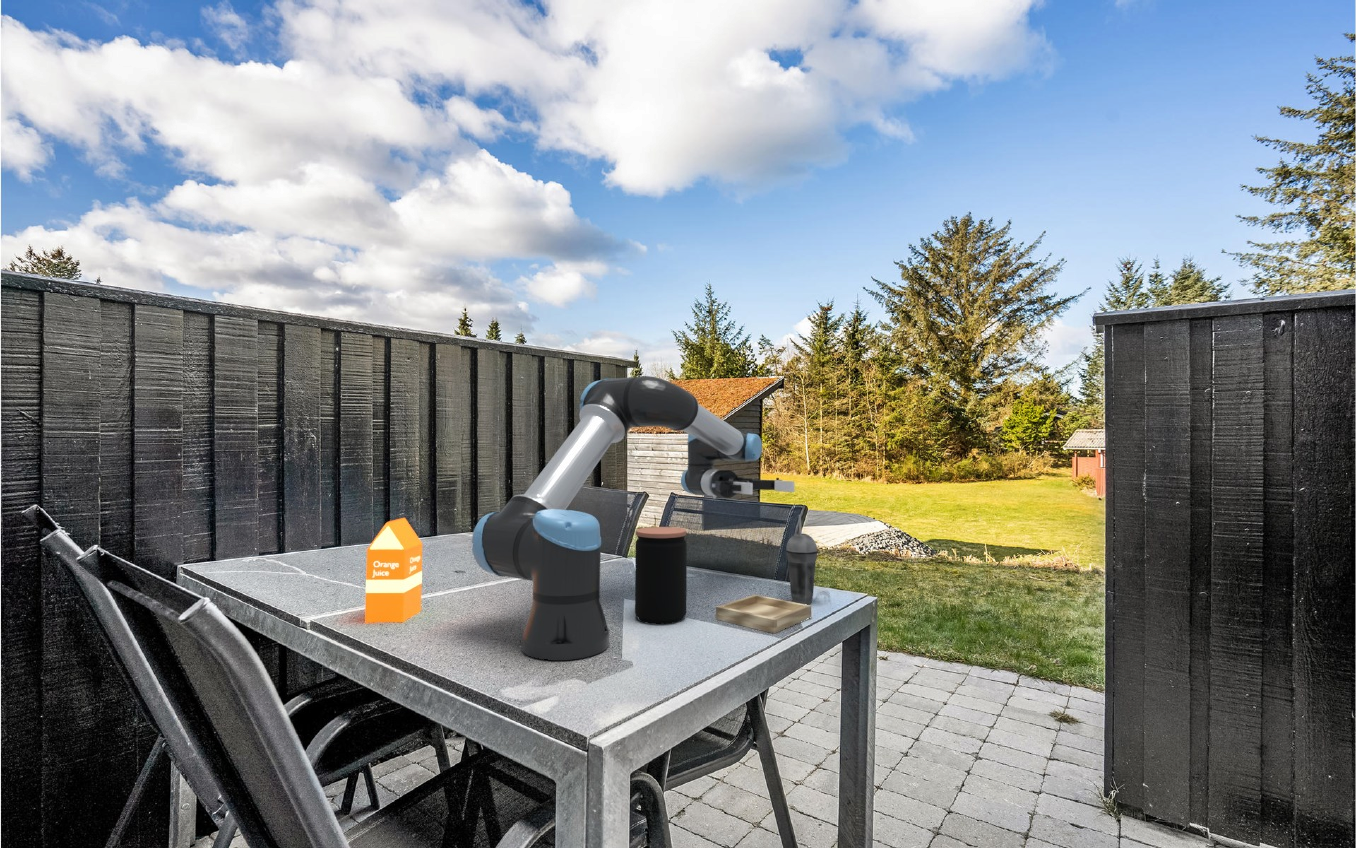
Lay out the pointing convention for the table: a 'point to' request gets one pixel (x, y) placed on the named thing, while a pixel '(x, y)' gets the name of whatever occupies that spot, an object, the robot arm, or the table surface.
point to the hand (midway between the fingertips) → (773, 487)
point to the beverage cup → (801, 566)
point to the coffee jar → (660, 575)
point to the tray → (763, 613)
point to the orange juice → (393, 574)
